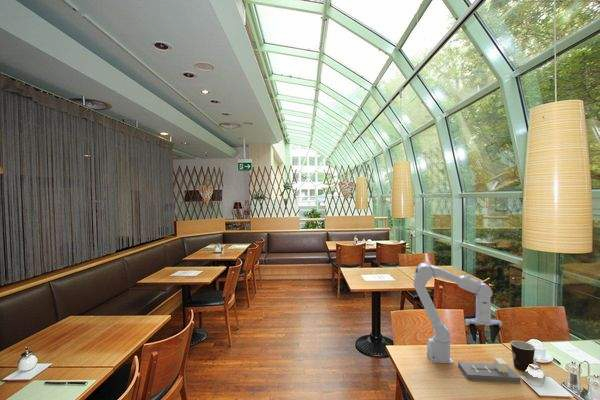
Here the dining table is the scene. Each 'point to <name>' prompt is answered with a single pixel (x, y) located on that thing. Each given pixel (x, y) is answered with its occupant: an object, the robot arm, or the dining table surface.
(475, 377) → the slider panel
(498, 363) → the slider knob
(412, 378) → the dining table surface
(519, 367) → the coffee mug
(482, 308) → the robot arm
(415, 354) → the dining table surface
